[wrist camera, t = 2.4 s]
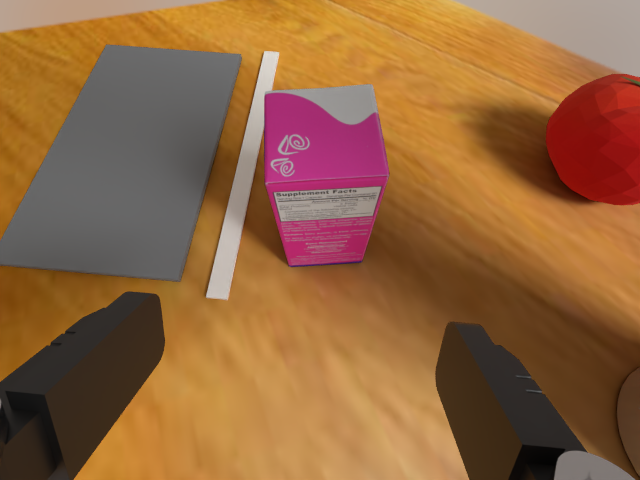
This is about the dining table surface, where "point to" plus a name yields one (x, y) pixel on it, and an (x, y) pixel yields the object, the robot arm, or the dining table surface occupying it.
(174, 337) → the dining table surface
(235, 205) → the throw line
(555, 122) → the tomato
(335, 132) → the supplement box
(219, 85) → the mat
